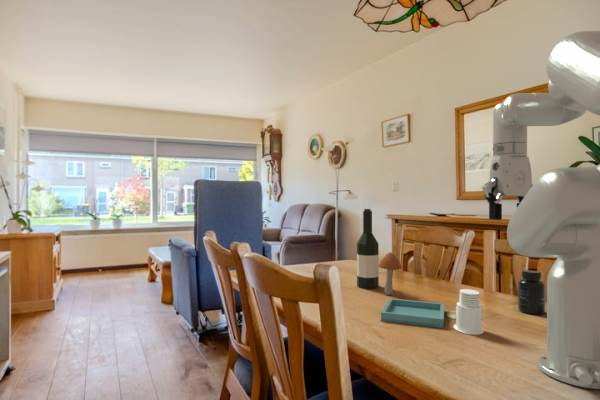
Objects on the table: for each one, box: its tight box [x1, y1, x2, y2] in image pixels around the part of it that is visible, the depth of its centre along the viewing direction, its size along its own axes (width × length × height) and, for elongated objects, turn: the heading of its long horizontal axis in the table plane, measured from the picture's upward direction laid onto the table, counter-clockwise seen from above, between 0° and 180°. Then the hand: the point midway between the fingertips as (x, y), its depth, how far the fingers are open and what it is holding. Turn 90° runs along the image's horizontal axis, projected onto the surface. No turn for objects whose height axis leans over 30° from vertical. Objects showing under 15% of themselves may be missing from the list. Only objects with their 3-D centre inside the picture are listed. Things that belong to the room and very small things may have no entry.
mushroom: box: [379, 252, 403, 296], centre depth 131 cm, size 8×8×15 cm
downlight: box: [453, 288, 485, 336], centre depth 95 cm, size 8×7×10 cm
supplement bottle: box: [517, 269, 546, 316], centre depth 110 cm, size 7×7×12 cm
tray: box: [380, 297, 445, 329], centre depth 106 cm, size 16×16×2 cm
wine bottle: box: [356, 208, 380, 290], centre depth 144 cm, size 8×8×30 cm
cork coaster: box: [445, 310, 456, 321], centre depth 105 cm, size 9×9×1 cm
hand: (509, 219), depth 94 cm, fingers open, 9 cm apart
